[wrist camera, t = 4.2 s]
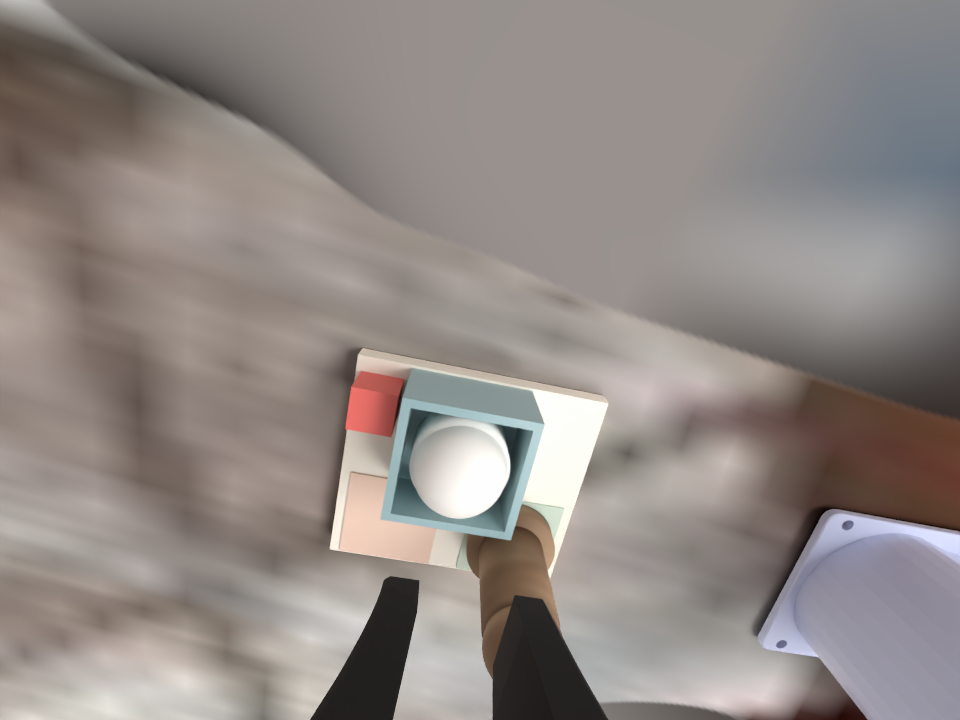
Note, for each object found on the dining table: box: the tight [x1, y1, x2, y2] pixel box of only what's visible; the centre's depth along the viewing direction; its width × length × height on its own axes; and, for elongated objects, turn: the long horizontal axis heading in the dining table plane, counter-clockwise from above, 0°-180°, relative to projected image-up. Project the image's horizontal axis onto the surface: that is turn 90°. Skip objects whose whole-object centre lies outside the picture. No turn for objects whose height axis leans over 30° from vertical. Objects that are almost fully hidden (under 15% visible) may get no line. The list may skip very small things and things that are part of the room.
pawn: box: [466, 504, 562, 679], centre depth 16 cm, size 4×4×6 cm
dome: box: [409, 412, 510, 519], centre depth 16 cm, size 3×3×3 cm
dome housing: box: [380, 368, 545, 540], centre depth 17 cm, size 5×5×3 cm
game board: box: [330, 348, 609, 579], centre depth 18 cm, size 10×9×2 cm
